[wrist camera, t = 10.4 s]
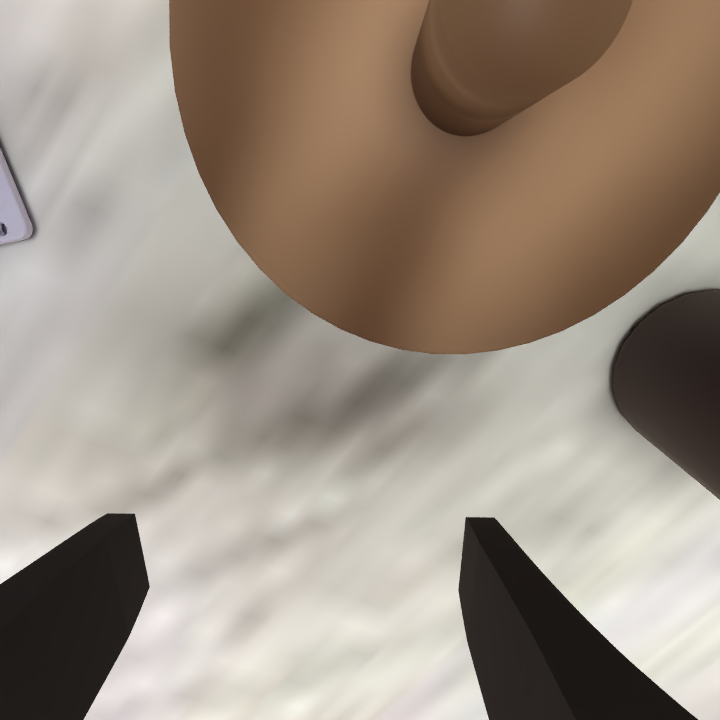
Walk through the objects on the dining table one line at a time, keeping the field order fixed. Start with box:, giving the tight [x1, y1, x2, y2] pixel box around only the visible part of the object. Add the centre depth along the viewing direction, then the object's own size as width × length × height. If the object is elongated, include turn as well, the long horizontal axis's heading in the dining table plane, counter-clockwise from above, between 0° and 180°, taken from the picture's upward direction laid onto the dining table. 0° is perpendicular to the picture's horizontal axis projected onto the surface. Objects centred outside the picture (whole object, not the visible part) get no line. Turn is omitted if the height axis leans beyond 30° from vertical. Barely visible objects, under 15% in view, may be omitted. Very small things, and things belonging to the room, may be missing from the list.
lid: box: [169, 0, 720, 354], centre depth 9 cm, size 15×15×5 cm
